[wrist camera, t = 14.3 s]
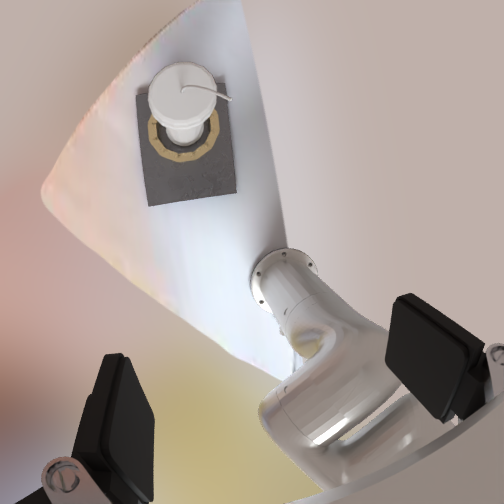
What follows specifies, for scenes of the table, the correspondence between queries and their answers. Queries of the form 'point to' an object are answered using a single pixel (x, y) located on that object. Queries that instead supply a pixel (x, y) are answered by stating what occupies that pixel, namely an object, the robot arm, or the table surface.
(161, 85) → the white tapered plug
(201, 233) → the table surface
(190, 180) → the fitting base
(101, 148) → the table surface
